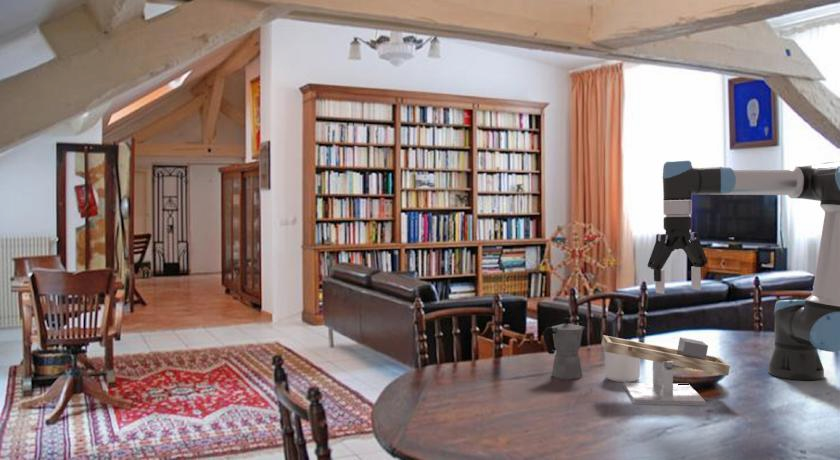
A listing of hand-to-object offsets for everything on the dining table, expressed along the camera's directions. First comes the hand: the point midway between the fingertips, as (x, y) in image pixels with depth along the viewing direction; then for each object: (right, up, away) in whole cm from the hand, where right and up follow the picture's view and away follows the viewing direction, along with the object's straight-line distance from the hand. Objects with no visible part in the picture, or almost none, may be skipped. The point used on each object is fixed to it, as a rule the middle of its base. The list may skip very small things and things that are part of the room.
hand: (678, 291), depth 201 cm
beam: (-6, -18, -6) cm, 20 cm away
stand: (-6, -28, -5) cm, 29 cm away
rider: (+1, -18, -7) cm, 19 cm away
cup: (-12, -28, +13) cm, 33 cm away
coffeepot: (-29, -28, +18) cm, 44 cm away
